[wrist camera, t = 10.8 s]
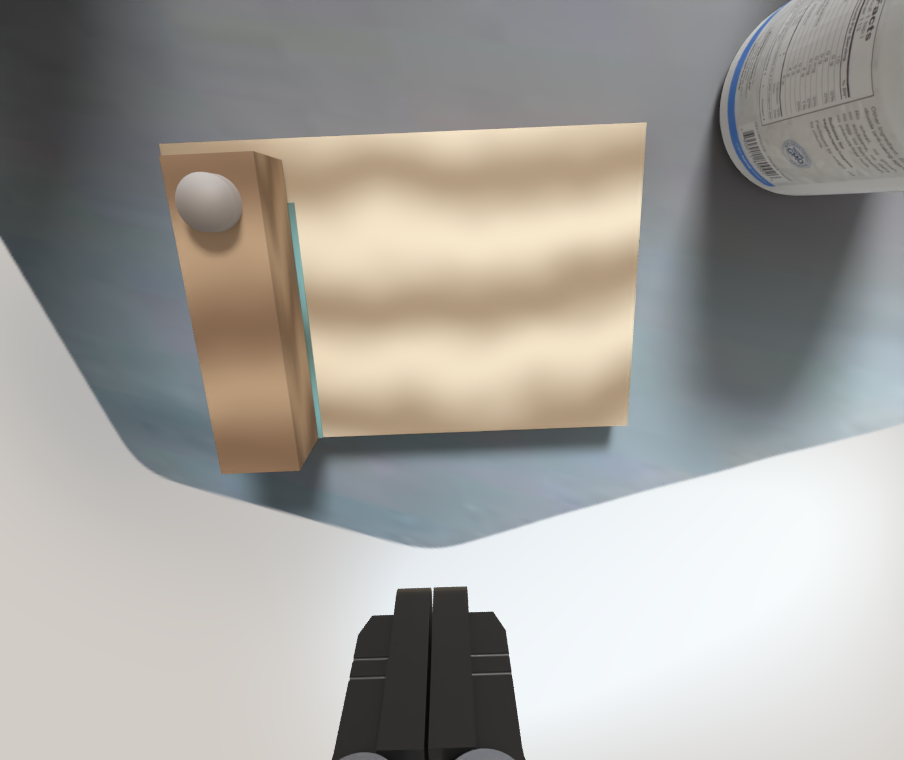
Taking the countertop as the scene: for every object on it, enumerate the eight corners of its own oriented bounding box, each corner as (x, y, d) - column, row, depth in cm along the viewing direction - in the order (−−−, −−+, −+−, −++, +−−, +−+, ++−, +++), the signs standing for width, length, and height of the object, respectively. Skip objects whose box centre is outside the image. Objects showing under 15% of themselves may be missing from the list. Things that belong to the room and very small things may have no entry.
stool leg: (201, 163, 26) (146, 153, 21) (281, 159, 26) (244, 148, 21) (249, 441, 31) (213, 483, 26) (318, 438, 31) (294, 480, 26)
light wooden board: (183, 149, 29) (158, 143, 26) (629, 130, 28) (647, 122, 26) (232, 425, 33) (215, 442, 31) (614, 410, 33) (627, 425, 31)
